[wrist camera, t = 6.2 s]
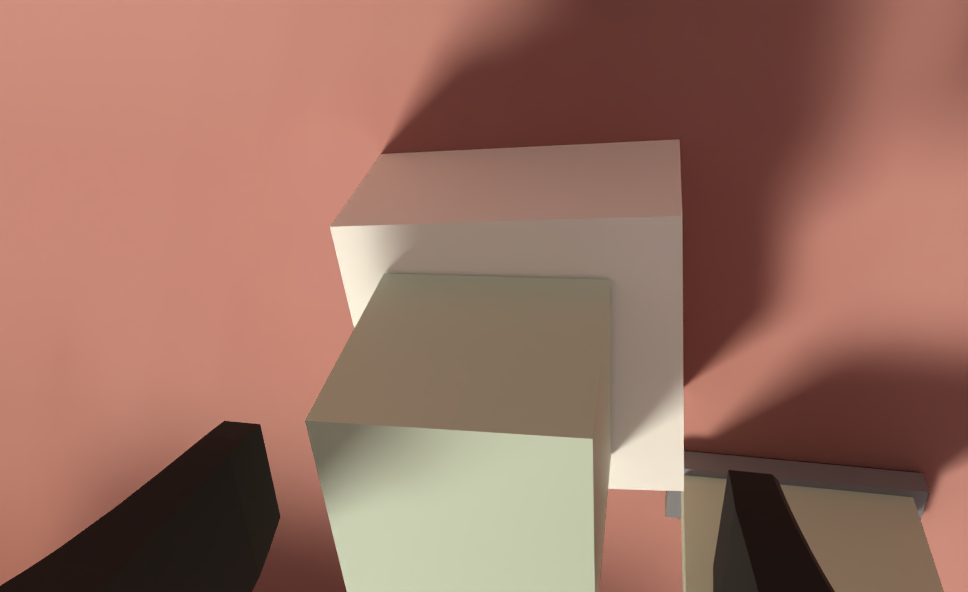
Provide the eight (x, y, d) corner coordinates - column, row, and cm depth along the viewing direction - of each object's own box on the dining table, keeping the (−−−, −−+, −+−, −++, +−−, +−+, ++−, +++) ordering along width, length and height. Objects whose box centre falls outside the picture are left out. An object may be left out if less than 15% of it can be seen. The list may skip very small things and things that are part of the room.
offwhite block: (679, 134, 17) (681, 215, 14) (681, 382, 20) (684, 491, 17) (383, 148, 18) (329, 227, 15) (428, 379, 21) (390, 481, 18)
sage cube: (610, 279, 15) (592, 438, 11) (610, 456, 17) (595, 633, 14) (384, 273, 15) (305, 421, 12) (411, 443, 18) (350, 607, 14)
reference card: (922, 473, 20) (991, 668, 16) (907, 523, 21) (967, 720, 16) (670, 449, 21) (671, 627, 16) (665, 498, 22) (665, 679, 17)
